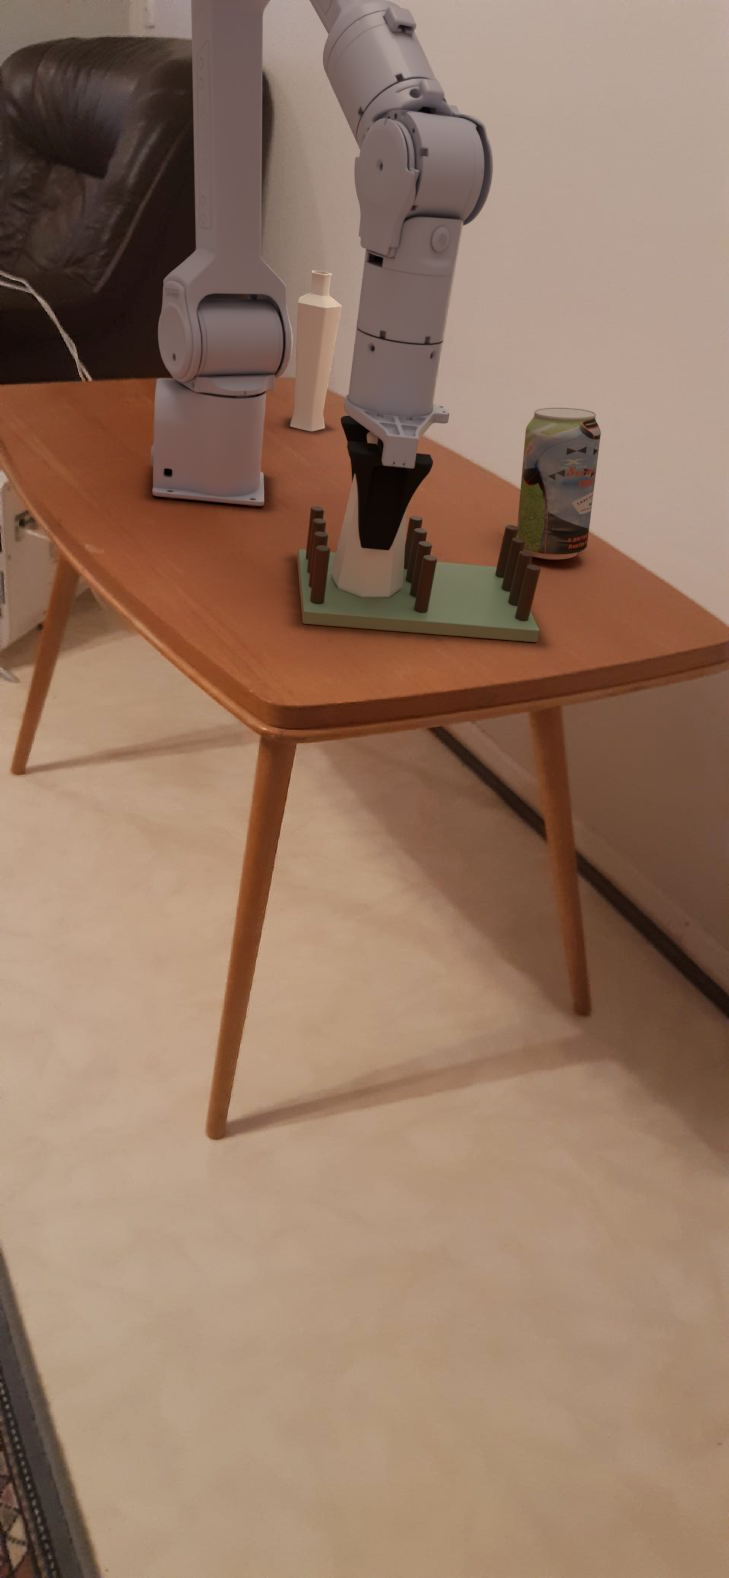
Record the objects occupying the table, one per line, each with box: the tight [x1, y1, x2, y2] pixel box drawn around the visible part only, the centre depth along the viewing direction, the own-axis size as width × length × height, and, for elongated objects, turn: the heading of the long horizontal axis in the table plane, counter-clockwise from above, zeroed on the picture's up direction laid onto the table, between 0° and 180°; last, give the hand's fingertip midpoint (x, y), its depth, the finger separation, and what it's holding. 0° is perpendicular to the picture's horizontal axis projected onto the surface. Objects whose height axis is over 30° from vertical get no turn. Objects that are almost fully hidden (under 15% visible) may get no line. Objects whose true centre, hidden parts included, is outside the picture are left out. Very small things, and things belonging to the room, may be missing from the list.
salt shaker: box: [331, 432, 408, 598], centre depth 73 cm, size 5×5×11 cm
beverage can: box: [516, 407, 602, 560], centre depth 85 cm, size 6×7×12 cm
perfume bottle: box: [289, 269, 343, 432], centre depth 106 cm, size 5×4×15 cm
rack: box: [296, 505, 541, 643], centre depth 76 cm, size 17×11×5 cm, turn 95°
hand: (371, 534), depth 74 cm, fingers open, 4 cm apart
